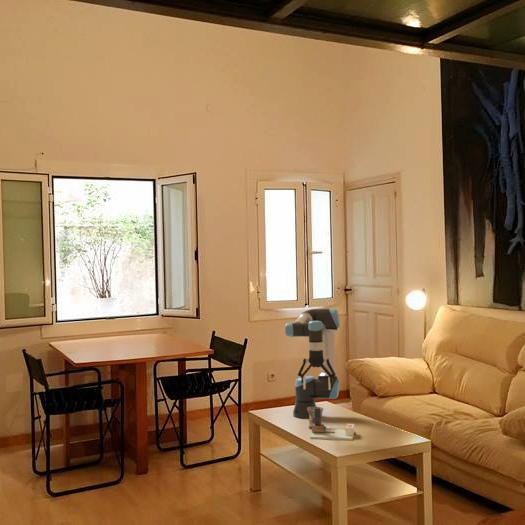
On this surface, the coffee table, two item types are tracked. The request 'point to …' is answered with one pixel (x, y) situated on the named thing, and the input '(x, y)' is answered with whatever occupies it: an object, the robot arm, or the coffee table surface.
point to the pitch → (331, 435)
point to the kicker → (318, 422)
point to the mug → (312, 415)
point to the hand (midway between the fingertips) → (317, 389)
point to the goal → (349, 429)
